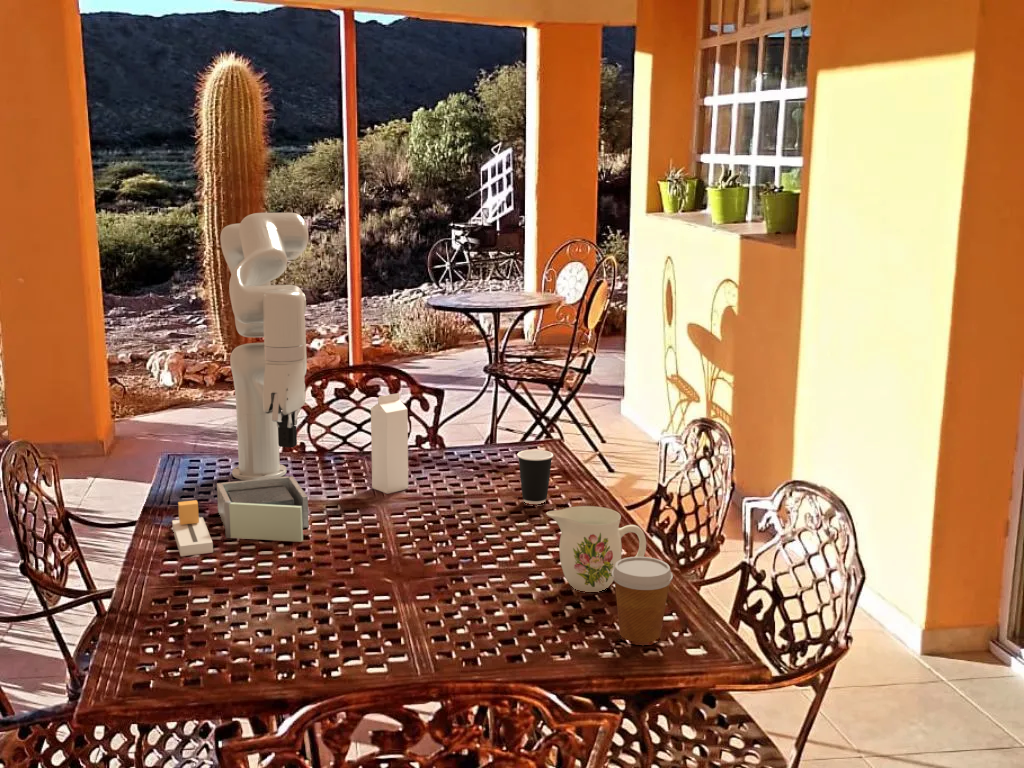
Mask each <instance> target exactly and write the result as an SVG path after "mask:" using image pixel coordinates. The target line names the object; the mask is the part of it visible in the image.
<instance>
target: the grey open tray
mask: <svg viewBox="0 0 1024 768" xmlns="http://www.w3.org/2000/svg"><path fill="white" fill-rule="evenodd" d="M216 493H217V494H216V495H217V496H216V497H217V513H219V514H218V515H220V516H219V518H220V517H221V518H220V521H221V522H223V523H222V524H223V527H224V528H225V511H224V502H225V501H231V502H234V503H253V504H272V505H291V506H302V522H303V529H305V528H309V501H308V500H309V497H308V495H307V494H306V493H305V491H304V489H302V487H301V485H300V484H299V483H298V481H297V480H296V478H295V477H294V476H293V475H290V476H289V475H288V476H281V477H275V478H265V479H255V480H238V481H229V482H228V481H226V482H217V483H216Z"/></svg>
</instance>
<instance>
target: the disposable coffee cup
mask: <svg viewBox="0 0 1024 768" xmlns="http://www.w3.org/2000/svg"><path fill="white" fill-rule="evenodd" d="M673 575H674V574H673V572H672V571H671V567H670V565H669V564H668V563H667V562H665V561H664V560H661V559H658V558H654V557H649V556H644V557H635V556H630V557H624V558H621V560H619V561H617V562H616V563H615V567H614V569H613V570H612V576H613V579H614V580H613V582H614V588H615V596H616V597H615V599H616V608H617V609H616V610H617V620H618V627H619V628H618V629H619V631H618V632H619V636H620V635H621V636H622V637H623V638H625V639H627V640H630V641H636V642H650V641H654V640H656V639H658V638H659V637H660V638H661V634H662V628H663V624H664V616H665V611H666V604H667V599H668V595H669V587H670V584H671V582H672V581H673V577H674V576H673Z"/></svg>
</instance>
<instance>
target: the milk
mask: <svg viewBox="0 0 1024 768" xmlns="http://www.w3.org/2000/svg"><path fill="white" fill-rule="evenodd" d="M400 395H401V394H400V393H398V392H397V393H391V394H386V395H380V396H378V398H377V399H378V400H377V403H376V404H375V405H373V406H372V407H370V428H371V429H370V431H371V434H370V435H371V436H370V437H371V438H370V439H371V485H372V486H371V488H372V489H373V490H377V491H378V492H382V493H384V494H393V493H396V492H401V491H404V490H409V439H408V438H409V437H408V436H409V435H408V434H409V430H408V429H409V427H408V426H409V424H408V420H409V418H408V416H409V415H408V408H407V406H406V405H405V404H404V403H403V401H401V399H400V398H401V397H400Z"/></svg>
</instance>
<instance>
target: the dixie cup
mask: <svg viewBox="0 0 1024 768" xmlns="http://www.w3.org/2000/svg"><path fill="white" fill-rule="evenodd" d="M516 456H517V457H518V464H519V476H520V477H519V478H520V485H521V495H522V499H523V503H524V502H525V503H529V504H541V503H544V502H545V503H546V501H547V497H548V493H549V483H550V477H551V476H550V475H551V469H552V468H551V467H552V461H553V460H552V459H553V458H554V454H553V452H551V451H548V450H544V449H543V450H542V449H526V450H522V451H521V450H520V451H519V452H518V453H517V454H516ZM525 503H524V504H525Z"/></svg>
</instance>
